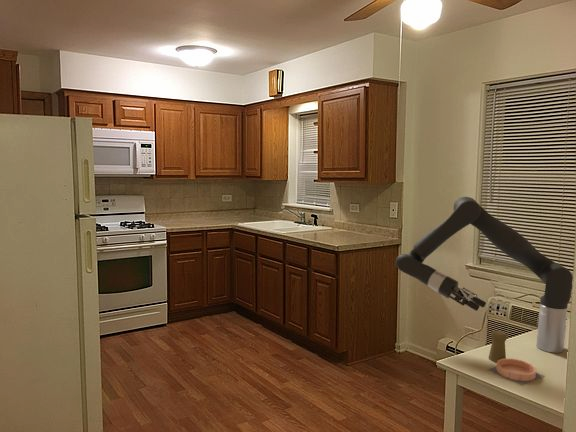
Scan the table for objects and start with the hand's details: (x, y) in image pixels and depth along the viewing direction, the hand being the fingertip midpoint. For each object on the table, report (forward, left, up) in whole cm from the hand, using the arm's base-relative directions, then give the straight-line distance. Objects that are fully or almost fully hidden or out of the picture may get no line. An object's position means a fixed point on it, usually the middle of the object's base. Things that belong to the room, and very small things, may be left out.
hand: (481, 306), depth 176 cm
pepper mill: (-2, +6, -19) cm, 20 cm away
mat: (+2, +16, -19) cm, 25 cm away
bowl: (+2, +16, -18) cm, 25 cm away
